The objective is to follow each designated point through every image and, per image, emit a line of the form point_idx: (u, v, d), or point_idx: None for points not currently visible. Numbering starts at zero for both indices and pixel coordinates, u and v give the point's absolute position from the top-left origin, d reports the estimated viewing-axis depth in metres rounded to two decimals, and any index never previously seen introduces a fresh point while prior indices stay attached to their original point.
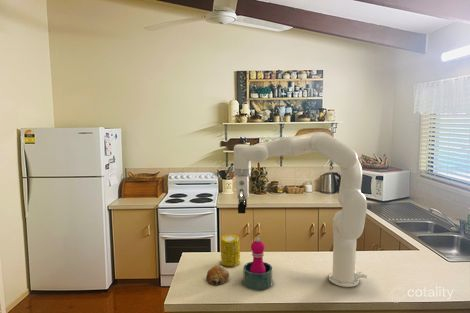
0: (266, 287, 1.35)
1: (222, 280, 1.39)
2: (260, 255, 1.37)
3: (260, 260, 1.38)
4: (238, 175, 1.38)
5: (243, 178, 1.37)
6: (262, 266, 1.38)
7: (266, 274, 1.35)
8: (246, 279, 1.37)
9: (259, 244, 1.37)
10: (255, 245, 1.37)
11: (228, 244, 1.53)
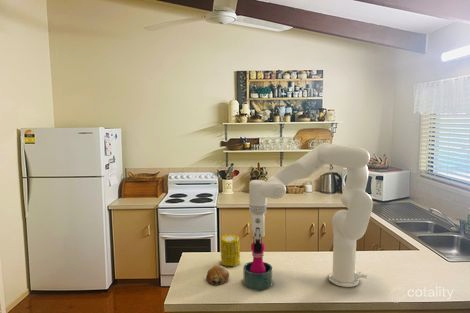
0: (266, 287, 1.35)
1: (222, 280, 1.39)
2: (260, 255, 1.37)
3: (260, 260, 1.38)
4: (254, 212, 1.34)
5: (259, 216, 1.33)
6: (262, 266, 1.38)
7: (266, 274, 1.35)
8: (246, 279, 1.37)
9: None
10: None
11: (228, 244, 1.53)
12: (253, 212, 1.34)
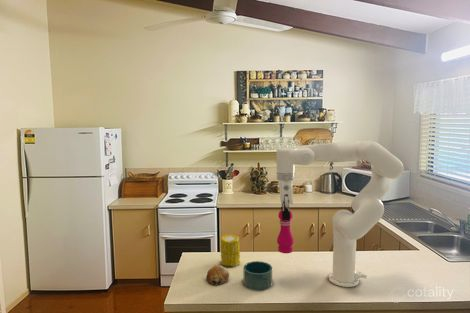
0: (266, 287, 1.35)
1: (222, 280, 1.39)
2: (288, 223, 1.36)
3: (288, 228, 1.37)
4: (282, 179, 1.33)
5: (288, 183, 1.32)
6: (290, 234, 1.37)
7: (266, 274, 1.35)
8: (246, 279, 1.37)
9: None
10: None
11: (228, 244, 1.53)
12: (281, 179, 1.33)
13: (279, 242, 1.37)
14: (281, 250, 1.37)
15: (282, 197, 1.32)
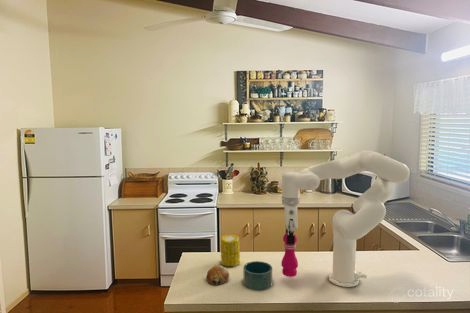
0: (266, 287, 1.35)
1: (222, 280, 1.39)
2: (293, 247, 1.37)
3: (292, 252, 1.38)
4: (287, 204, 1.34)
5: (293, 207, 1.33)
6: (294, 258, 1.39)
7: (266, 274, 1.35)
8: (246, 279, 1.37)
9: None
10: None
11: (228, 244, 1.53)
12: (286, 204, 1.35)
13: (283, 265, 1.38)
14: (285, 273, 1.39)
15: (287, 222, 1.34)
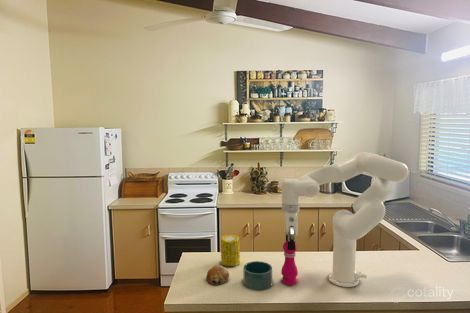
0: (266, 287, 1.35)
1: (222, 280, 1.39)
2: (292, 255, 1.38)
3: (292, 260, 1.39)
4: (287, 211, 1.35)
5: (293, 214, 1.33)
6: (294, 266, 1.39)
7: (266, 274, 1.35)
8: (246, 279, 1.37)
9: None
10: None
11: (228, 244, 1.53)
12: (286, 210, 1.35)
13: (283, 273, 1.39)
14: (285, 281, 1.39)
15: (287, 228, 1.34)
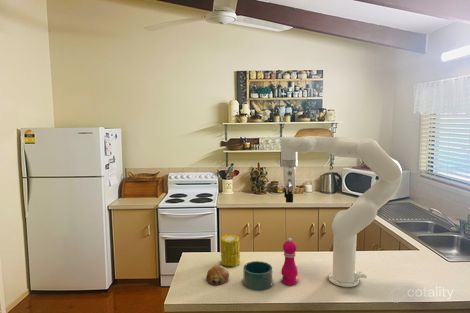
0: (266, 287, 1.35)
1: (222, 280, 1.39)
2: (292, 255, 1.38)
3: (292, 260, 1.39)
4: (286, 166, 1.44)
5: (291, 169, 1.43)
6: (294, 266, 1.39)
7: (266, 274, 1.35)
8: (246, 279, 1.37)
9: (291, 244, 1.38)
10: (288, 245, 1.37)
11: (228, 244, 1.53)
12: (285, 165, 1.44)
13: (283, 274, 1.39)
14: (285, 281, 1.39)
15: (286, 182, 1.43)
